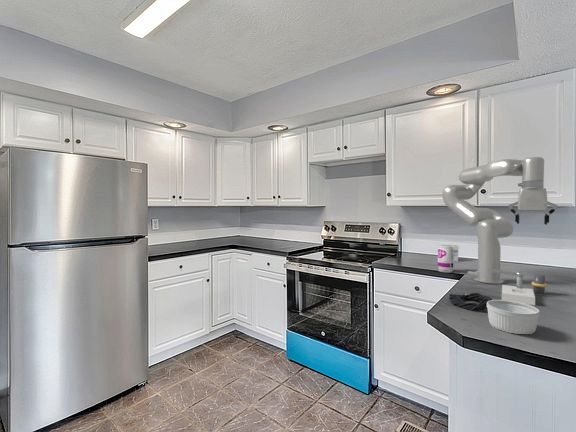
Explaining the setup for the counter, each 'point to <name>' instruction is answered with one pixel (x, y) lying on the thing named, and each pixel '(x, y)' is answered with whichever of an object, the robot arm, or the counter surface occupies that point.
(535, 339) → the counter surface
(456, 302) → the cable
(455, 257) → the light bulb box
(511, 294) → the socket block
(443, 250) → the supplement can
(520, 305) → the ramekin
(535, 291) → the plug
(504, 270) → the clip
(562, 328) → the counter surface
